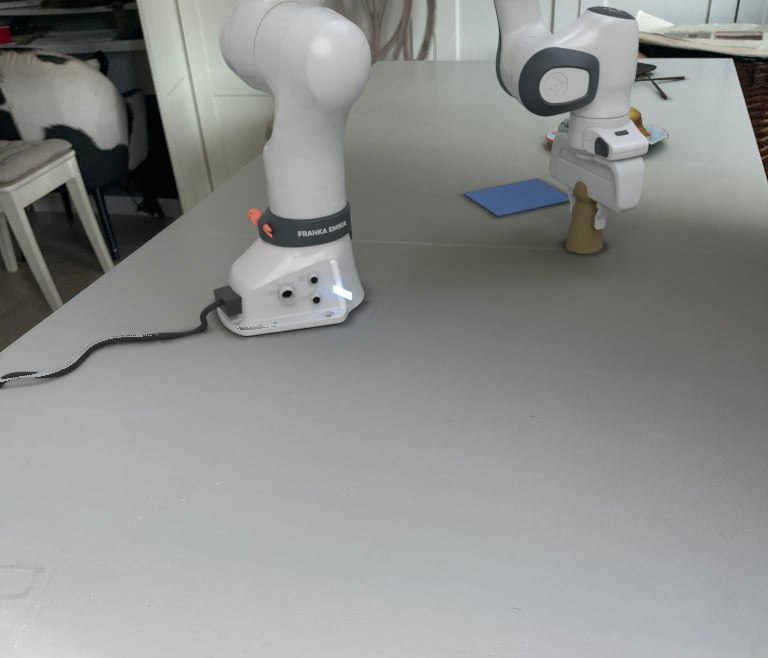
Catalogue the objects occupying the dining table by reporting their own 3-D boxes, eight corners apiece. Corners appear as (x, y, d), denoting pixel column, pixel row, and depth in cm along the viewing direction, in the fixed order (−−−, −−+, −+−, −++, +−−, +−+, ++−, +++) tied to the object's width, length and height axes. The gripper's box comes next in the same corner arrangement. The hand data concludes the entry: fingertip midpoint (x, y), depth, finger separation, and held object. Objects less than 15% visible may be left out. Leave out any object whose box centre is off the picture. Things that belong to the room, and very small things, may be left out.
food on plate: (531, 158, 170) (533, 124, 166) (562, 125, 187) (564, 94, 183) (655, 168, 161) (661, 133, 157) (675, 133, 178) (681, 100, 174)
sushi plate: (615, 66, 227) (617, 51, 224) (712, 81, 210) (715, 65, 207) (550, 87, 213) (551, 71, 210) (648, 106, 195) (651, 88, 193)
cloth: (497, 217, 146) (497, 215, 146) (464, 195, 155) (464, 193, 155) (573, 200, 150) (573, 199, 150) (536, 180, 159) (536, 179, 159)
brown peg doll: (602, 254, 131) (611, 185, 124) (564, 252, 132) (571, 184, 125) (602, 239, 136) (611, 172, 129) (566, 238, 137) (572, 171, 130)
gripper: (543, 118, 129) (536, 205, 138) (619, 152, 114) (606, 247, 123) (577, 112, 131) (568, 198, 140) (656, 145, 116) (641, 239, 125)
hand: (587, 221), depth 131 cm, fingers closed on brown peg doll, 4 cm apart
